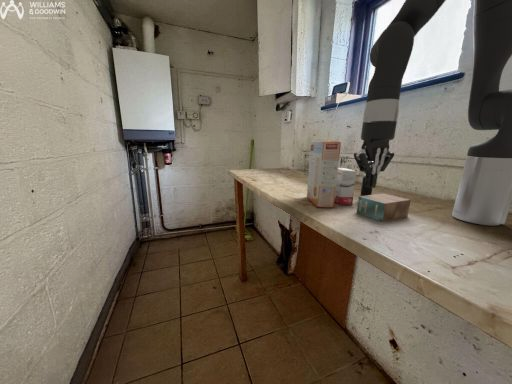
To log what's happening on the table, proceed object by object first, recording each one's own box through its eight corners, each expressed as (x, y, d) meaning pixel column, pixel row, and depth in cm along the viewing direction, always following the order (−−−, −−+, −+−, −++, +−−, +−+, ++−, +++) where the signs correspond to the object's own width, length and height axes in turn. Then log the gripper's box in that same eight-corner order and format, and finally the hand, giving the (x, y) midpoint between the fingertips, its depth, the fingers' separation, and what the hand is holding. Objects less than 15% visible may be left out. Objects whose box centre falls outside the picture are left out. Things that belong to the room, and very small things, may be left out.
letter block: (356, 212, 62) (381, 208, 66) (381, 221, 54) (407, 216, 59) (358, 196, 60) (383, 193, 65) (384, 203, 53) (410, 199, 57)
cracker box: (335, 208, 65) (342, 141, 60) (316, 208, 65) (321, 141, 60) (321, 197, 79) (326, 141, 74) (306, 196, 79) (310, 141, 74)
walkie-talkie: (359, 200, 75) (365, 159, 71) (369, 201, 73) (376, 159, 70) (359, 203, 70) (365, 160, 67) (370, 205, 69) (377, 160, 65)
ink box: (353, 205, 69) (357, 170, 66) (338, 204, 69) (342, 170, 66) (343, 198, 77) (346, 167, 74) (330, 198, 77) (333, 167, 75)
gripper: (382, 123, 57) (374, 183, 62) (348, 120, 52) (341, 186, 56) (411, 120, 51) (399, 188, 55) (374, 117, 46) (364, 192, 50)
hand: (369, 187), depth 56 cm, fingers closed
